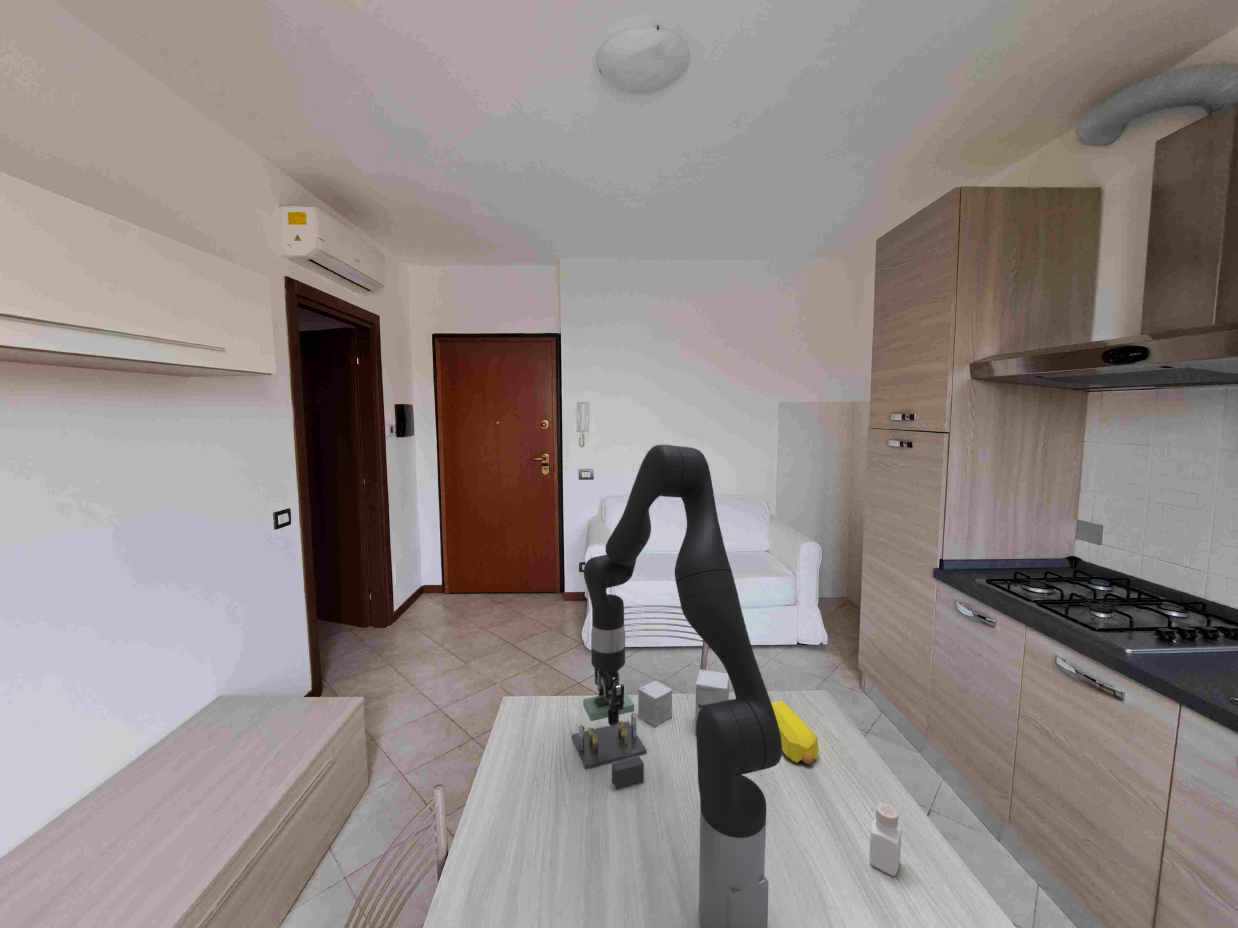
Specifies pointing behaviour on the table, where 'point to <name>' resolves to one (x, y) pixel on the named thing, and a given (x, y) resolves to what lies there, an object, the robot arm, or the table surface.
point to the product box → (655, 703)
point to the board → (604, 707)
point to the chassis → (608, 743)
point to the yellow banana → (795, 735)
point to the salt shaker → (885, 840)
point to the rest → (627, 772)
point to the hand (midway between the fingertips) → (608, 714)
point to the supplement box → (710, 689)
